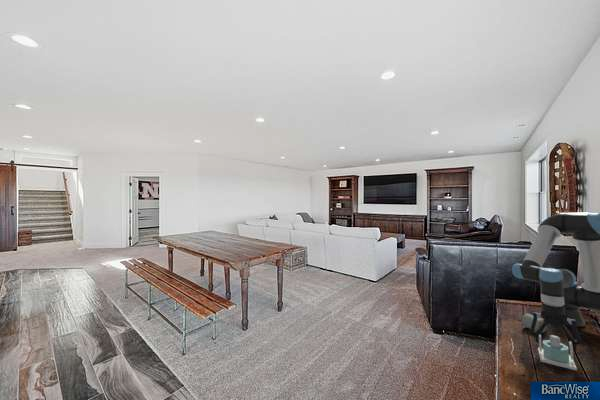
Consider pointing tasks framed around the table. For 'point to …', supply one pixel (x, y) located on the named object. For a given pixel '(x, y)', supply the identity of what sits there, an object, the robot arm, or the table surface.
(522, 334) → the table surface
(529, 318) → the ceramic mug
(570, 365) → the plate with round peg
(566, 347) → the ring
